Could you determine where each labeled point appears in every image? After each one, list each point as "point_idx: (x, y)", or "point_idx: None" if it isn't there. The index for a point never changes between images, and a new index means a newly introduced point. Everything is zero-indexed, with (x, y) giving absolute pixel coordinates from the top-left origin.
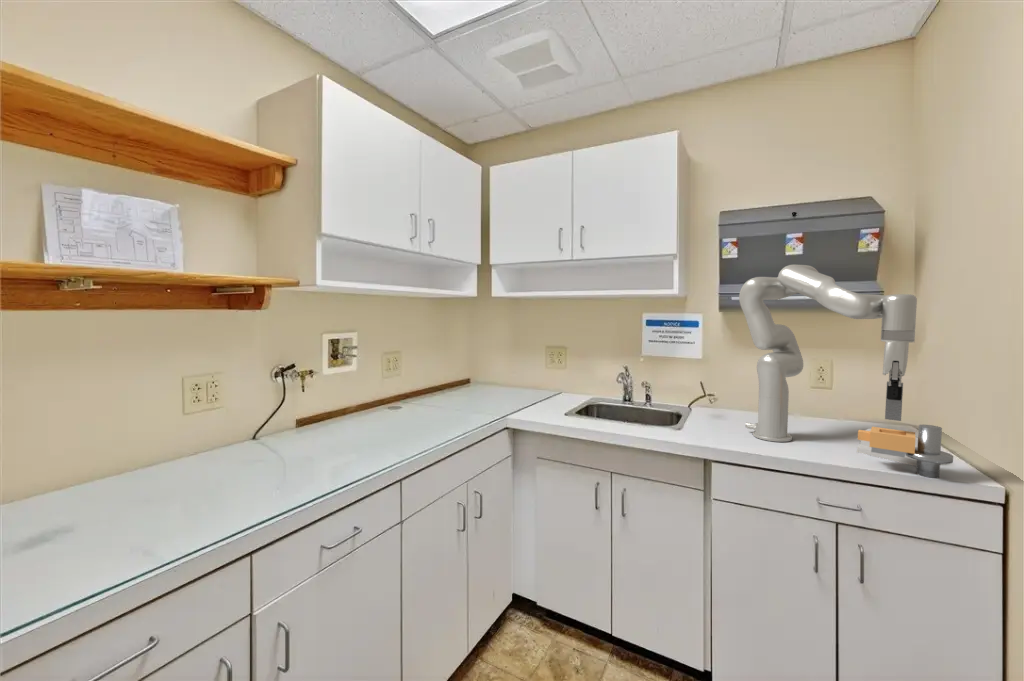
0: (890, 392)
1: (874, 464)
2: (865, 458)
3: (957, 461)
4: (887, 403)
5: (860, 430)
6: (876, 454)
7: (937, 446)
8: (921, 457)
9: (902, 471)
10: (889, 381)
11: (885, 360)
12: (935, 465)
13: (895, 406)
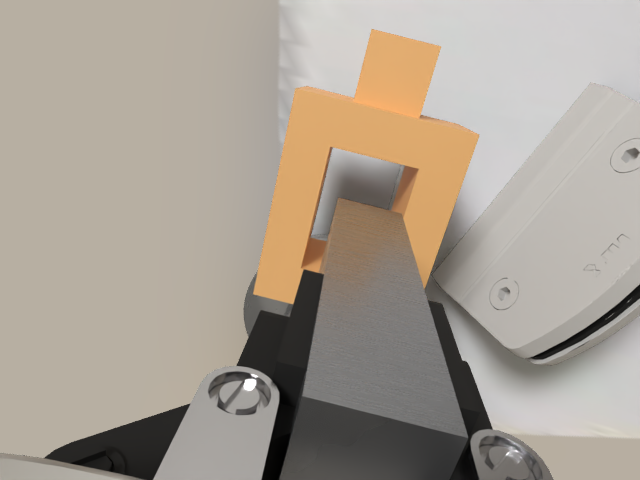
0: (283, 335)
1: None
2: (481, 102)
3: (565, 419)
4: (326, 255)
5: (419, 53)
6: (537, 159)
7: None
8: (255, 274)
9: (335, 205)
10: (181, 431)
11: None
12: None
13: None
